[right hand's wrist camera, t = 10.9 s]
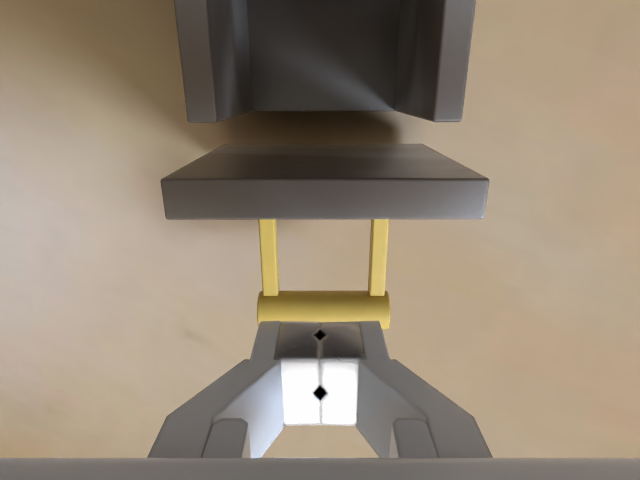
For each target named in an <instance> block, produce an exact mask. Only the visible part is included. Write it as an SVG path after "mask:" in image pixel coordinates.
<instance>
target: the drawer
mask: <svg viewBox="0 0 640 480" xmlns="http://www.w3.org/2000/svg"><path fill="white" fill-rule="evenodd" d="M475 3H476V0H174V4H175V13H176V21H177V30H178V39H179V48H180V57H181V65H182V74H183V83H184V92H185V101H186V109H187V118H188V122H190V123H212V122H219V121H222V120H225V119H229V118H232V117H235V116H238V115H242V114H245V113H248V112H252V111H397V112H401V113H404V114H408V115H411V116H415V117H419V118H422V119H426V120H430V121H433V122H460V121H461V119H462V113H463V105H464V96H465V88H466V79H467V71H468V63H469V54H470V46H471V37H472V29H473V20H474V12H475ZM488 186H489V179H488V178H486V177H484V176H482V175H480V174H478V173H477V172H475V171H473V170H471V169H469V168H467V167H465V166H463V165H461V164H460V163H458V162H456V161H454V160H452V159H450V158H448V157H446V156H444V155H442V154H441V153H439V152H437V151H435V150H433V149H431V148H429V147H427V146H425V145H423V144H224V145H222V146H220V147H218V148H216V149H215V150H213V151H211V152H209V153H207V154H206V155H204V156H202V157H200V158H198V159H197V160H195V161H193V162H191V163H190V164H188V165H186V166H184V167H182V168H181V169H179V170H177V171H175V172H173V173H172V174H170V175H168V176H166V177H164V178H163V179H161V188H162V195H163V202H164V209H165V216H166V219H169V220H240V219H259V235H260V252H261V269H262V286H263V291H260V293H259V296H258V304H257V321H258V327H259V323H260V322H261V321H308V322H351V321H379V322H380V324H381V327H382V329H388V328H389V325H390V299H389V295H388V292H387V291H385V278H386V262H387V246H388V230H389V219H483V218H484V213H485V206H486V200H487V193H488ZM276 219H371V234H370V256H369V278H368V291H279V271H278V247H277V224H276Z"/></svg>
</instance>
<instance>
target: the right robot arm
mask: <svg viewBox="0 0 640 480" xmlns="http://www.w3.org/2000/svg"><path fill="white" fill-rule="evenodd" d="M296 425H344V426H357V427H356V428H357V429H358V430H359V432H360V433H361V434H362V435H363V437H364V438H365V439H366V441H367V442H368V443H369V445H370V446H371V447H372V448H373V450H374V451H375V452H376V454H377V455H378V456H379V458H261V457H262V455H263V454H264V453H265V451H266V450H267V449H268V447H269V446H270V445H271V444H272V442H273V441H274V440H275V438H276V437H277V436H278V435H279V433H280V432H281V431H282V429H283V428H284V426H296ZM0 480H640V458H493V457H492V455H491V453H490V451H489V448H488V446H487V444H486V442H485V440H484V438H483V436H482V434H481V431H480V429H479V427H478V425H477V423H476V421H475V419H474V417H473V416H472V415H470V414H469V413H468V412H466V411H465V410H463V409H462V408H461V407H459V406H458V405H457V404H455V403H454V402H453V401H451V400H450V399H449V398H447V397H446V396H444V395H443V394H442V393H440V392H439V391H438V390H436V389H435V388H434V387H432V386H431V385H430V384H428V383H427V382H425V381H424V380H423V379H421V378H420V377H419V376H417V375H416V374H415V373H413V372H412V371H411V370H409V369H408V368H406V367H405V366H404V365H402V364H401V363H400V362H398V361H397V360H390V358H389V354H388V350H387V346H386V343H385V339H384V335H383V331H382V327H381V324H380V322H379V321H351V322H308V321H261V322H260V323H259V327H258V331H257V335H256V339H255V342H254V346H253V350H252V354H251V358H250V360H243V361H242V362H240V363H239V364H238V365H236V366H235V367H234V368H232V369H231V370H229V371H228V372H227V373H225V374H224V375H223V376H221V377H220V378H219V379H217V380H216V381H214V382H213V383H212V384H210V385H209V386H208V387H206V388H205V389H204V390H202V391H201V392H199V393H198V394H197V395H195V396H194V397H193V398H191V399H190V400H189V401H187V402H186V403H184V404H183V405H182V406H180V407H179V408H178V409H176V410H175V411H174V412H172V413H171V414H169V415H168V416H167V417H166V419H165V421H164V423H163V425H162V428H161V430H160V432H159V434H158V436H157V438H156V440H155V442H154V444H153V446H152V449H151V451H150V453H149V455H148V457H147V458H0Z"/></svg>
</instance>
